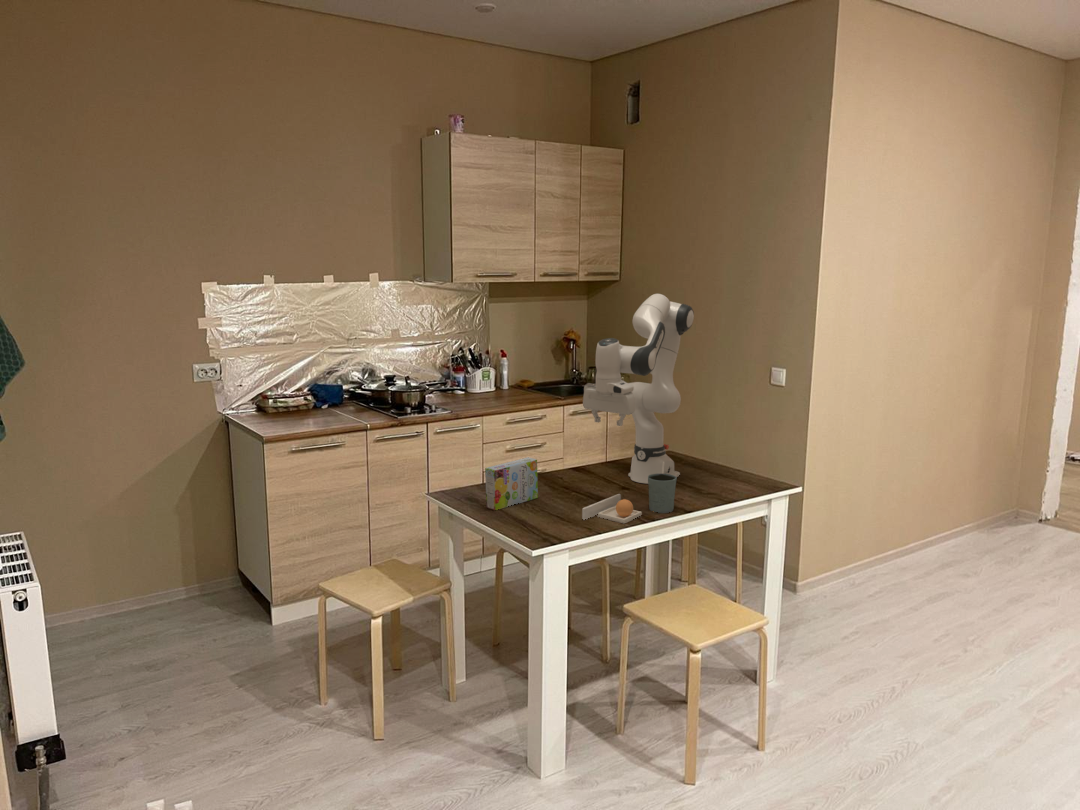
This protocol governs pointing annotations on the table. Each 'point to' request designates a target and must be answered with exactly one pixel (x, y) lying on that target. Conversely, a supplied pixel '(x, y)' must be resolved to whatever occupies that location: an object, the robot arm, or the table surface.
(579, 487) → the table surface
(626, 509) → the ball
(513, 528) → the table surface
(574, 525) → the table surface
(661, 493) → the grey green cup
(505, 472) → the snack box
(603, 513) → the square tray
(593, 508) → the low wall
